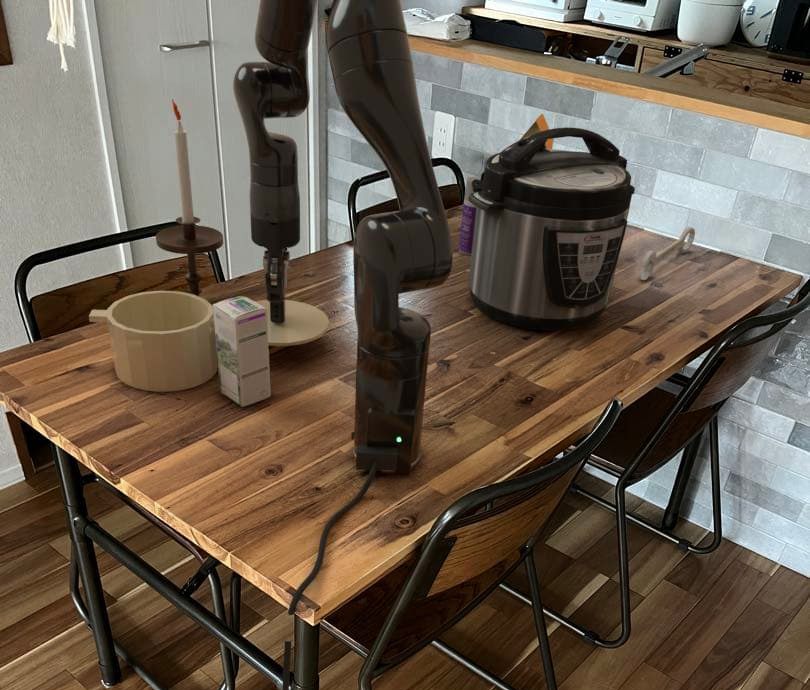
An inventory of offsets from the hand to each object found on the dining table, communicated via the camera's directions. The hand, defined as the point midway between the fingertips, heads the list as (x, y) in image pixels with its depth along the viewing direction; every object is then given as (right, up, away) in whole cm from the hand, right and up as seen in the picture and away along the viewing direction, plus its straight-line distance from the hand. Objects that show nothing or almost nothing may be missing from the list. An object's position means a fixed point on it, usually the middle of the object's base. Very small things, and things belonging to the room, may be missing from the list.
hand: (278, 317), depth 139 cm
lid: (0, -1, +1) cm, 1 cm away
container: (+35, +26, +45) cm, 63 cm away
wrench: (+78, +23, +47) cm, 94 cm away
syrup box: (-3, -15, -10) cm, 18 cm away
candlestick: (-16, +2, +10) cm, 19 cm away
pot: (-17, -9, -5) cm, 20 cm away
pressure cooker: (+46, +8, +24) cm, 53 cm away
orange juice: (+52, +50, +77) cm, 105 cm away
